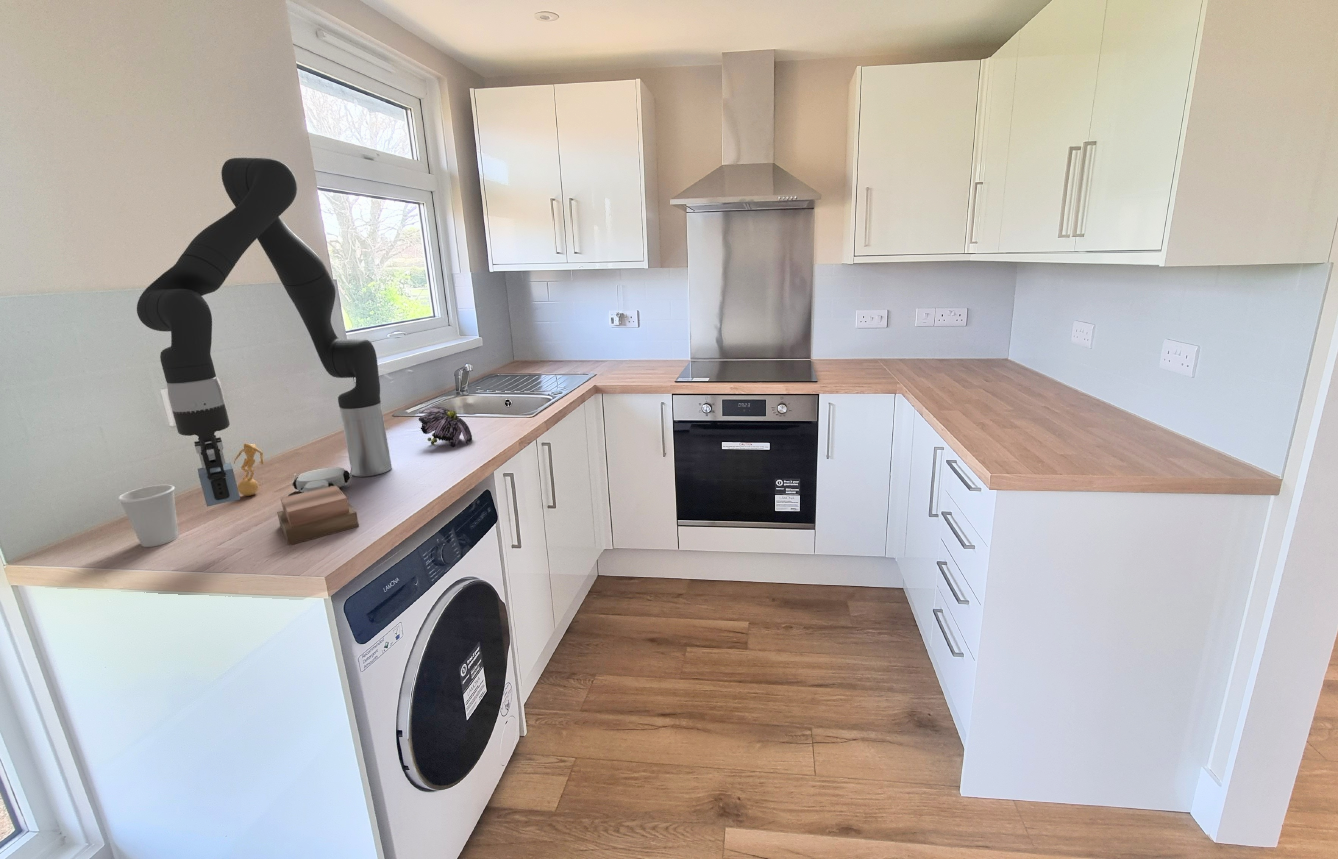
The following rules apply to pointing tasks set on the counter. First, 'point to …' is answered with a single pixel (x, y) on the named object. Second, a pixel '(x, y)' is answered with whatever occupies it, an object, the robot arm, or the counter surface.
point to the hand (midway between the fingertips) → (221, 494)
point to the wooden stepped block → (316, 514)
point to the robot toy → (320, 479)
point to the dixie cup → (152, 514)
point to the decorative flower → (444, 426)
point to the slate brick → (208, 488)
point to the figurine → (249, 484)
